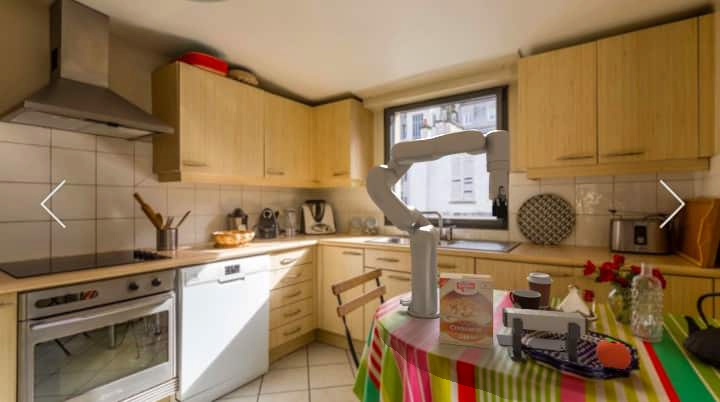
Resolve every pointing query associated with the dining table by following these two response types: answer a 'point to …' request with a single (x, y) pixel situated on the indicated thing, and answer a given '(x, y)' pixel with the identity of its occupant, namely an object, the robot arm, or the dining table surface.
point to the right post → (571, 344)
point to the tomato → (613, 354)
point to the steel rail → (544, 320)
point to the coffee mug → (525, 299)
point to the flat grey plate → (534, 343)
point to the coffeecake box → (466, 309)
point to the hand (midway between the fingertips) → (499, 217)
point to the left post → (516, 342)
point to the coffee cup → (541, 287)
